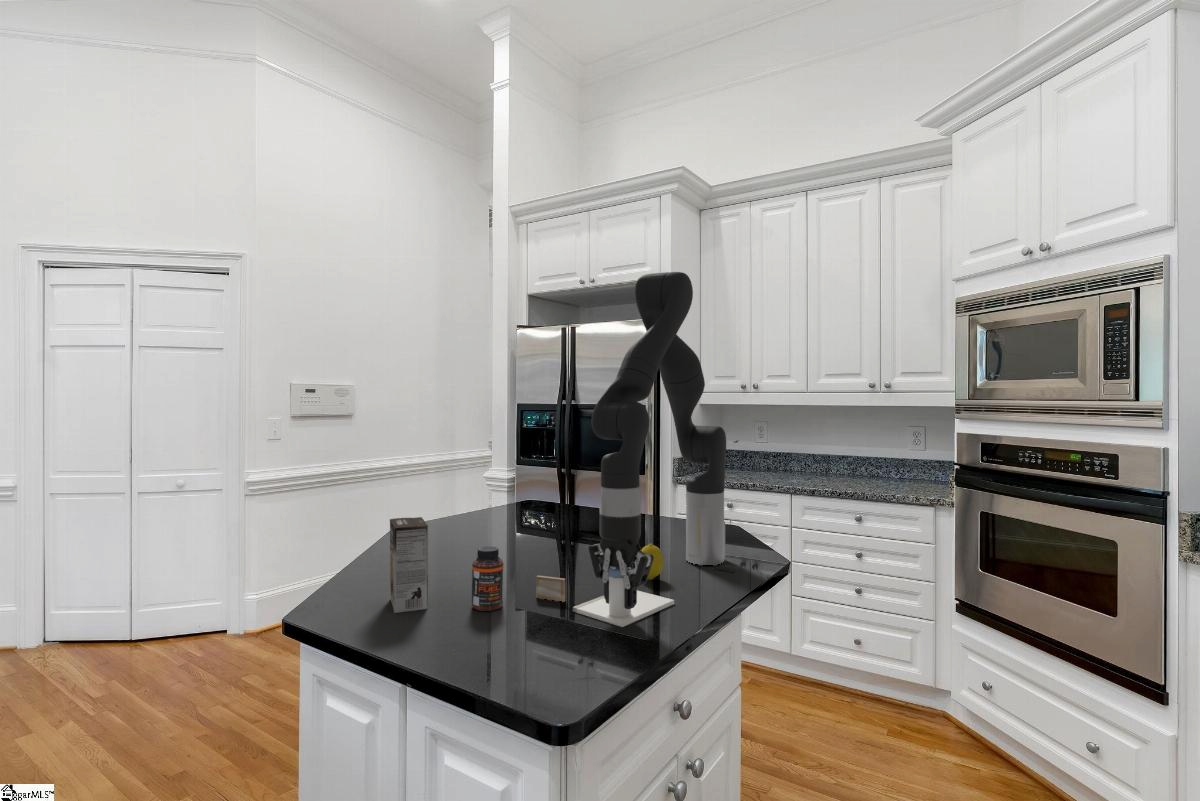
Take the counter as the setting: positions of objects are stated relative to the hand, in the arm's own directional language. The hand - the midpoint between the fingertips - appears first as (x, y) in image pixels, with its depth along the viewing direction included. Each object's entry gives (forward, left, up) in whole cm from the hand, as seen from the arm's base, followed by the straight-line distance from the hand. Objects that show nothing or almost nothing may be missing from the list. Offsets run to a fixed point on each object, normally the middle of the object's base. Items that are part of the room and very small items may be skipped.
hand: (620, 604), depth 113 cm
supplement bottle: (+12, -23, -3) cm, 26 cm away
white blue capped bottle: (0, 0, -2) cm, 2 cm away
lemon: (-23, -10, -3) cm, 25 cm away
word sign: (+1, -17, -3) cm, 17 cm away
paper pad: (-5, -3, -3) cm, 6 cm away
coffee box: (+21, -36, -3) cm, 42 cm away
